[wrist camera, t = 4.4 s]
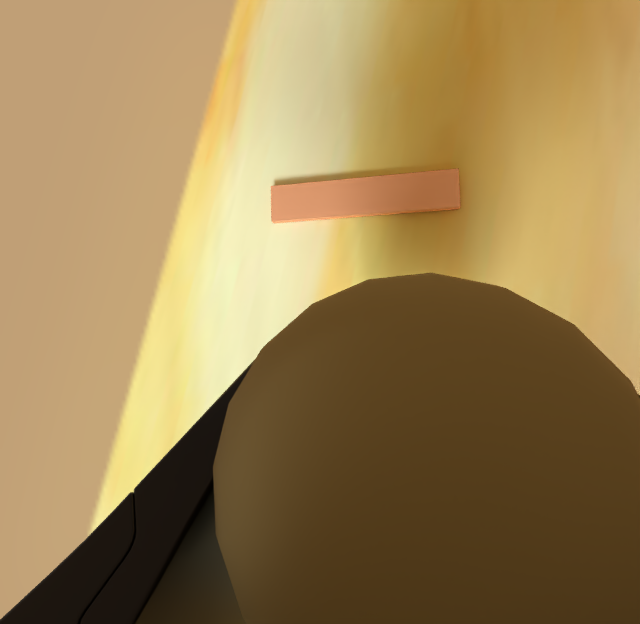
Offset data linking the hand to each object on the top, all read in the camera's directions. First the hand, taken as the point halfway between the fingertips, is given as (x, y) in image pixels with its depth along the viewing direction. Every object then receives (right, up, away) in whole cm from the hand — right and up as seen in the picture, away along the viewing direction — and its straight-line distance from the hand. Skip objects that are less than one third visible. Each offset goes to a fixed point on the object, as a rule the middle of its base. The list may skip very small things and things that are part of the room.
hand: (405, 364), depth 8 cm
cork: (+1, -2, +7) cm, 7 cm away
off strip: (+1, +7, +13) cm, 15 cm away
